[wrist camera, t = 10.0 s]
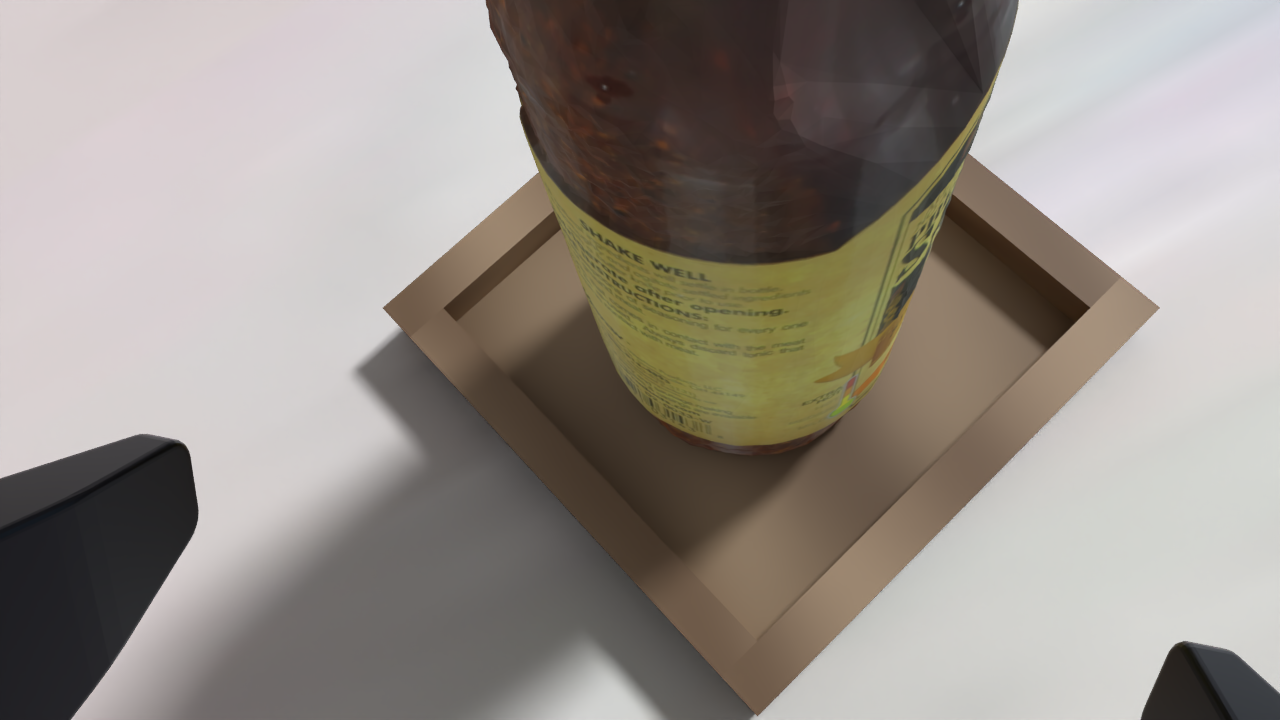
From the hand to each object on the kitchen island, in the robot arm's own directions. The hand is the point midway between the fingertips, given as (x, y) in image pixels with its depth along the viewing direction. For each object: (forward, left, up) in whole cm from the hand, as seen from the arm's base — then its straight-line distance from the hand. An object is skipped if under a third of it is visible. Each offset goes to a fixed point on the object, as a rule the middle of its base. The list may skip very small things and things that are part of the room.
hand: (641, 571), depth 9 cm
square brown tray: (+6, +4, -13) cm, 15 cm away
